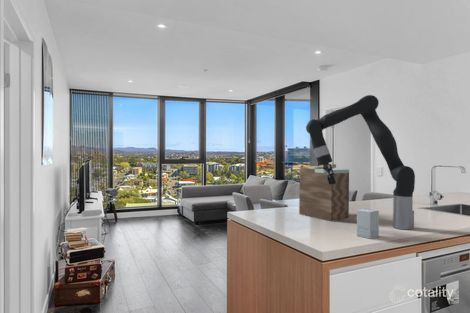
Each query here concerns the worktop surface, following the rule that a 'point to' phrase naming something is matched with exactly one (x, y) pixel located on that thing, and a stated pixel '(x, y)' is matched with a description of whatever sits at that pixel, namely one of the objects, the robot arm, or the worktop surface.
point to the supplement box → (368, 223)
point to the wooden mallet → (318, 166)
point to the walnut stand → (324, 194)
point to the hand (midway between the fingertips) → (332, 184)
